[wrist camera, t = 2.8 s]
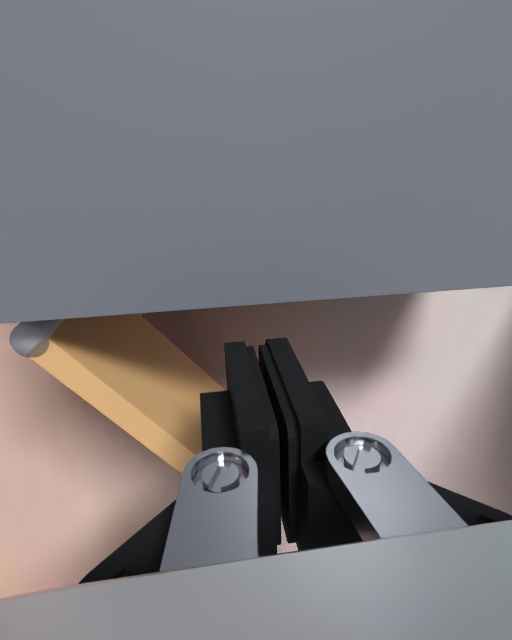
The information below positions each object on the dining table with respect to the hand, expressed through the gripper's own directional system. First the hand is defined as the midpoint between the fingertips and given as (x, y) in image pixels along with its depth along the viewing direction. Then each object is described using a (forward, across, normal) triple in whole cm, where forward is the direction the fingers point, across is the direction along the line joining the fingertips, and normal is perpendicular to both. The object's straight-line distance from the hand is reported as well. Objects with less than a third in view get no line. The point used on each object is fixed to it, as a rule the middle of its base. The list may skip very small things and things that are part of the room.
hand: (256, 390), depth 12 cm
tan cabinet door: (+8, +3, +2) cm, 9 cm away
